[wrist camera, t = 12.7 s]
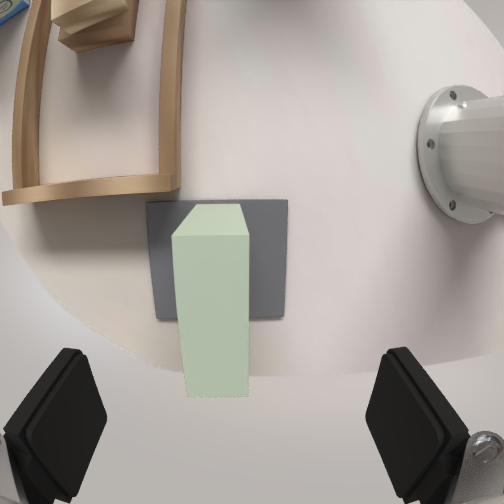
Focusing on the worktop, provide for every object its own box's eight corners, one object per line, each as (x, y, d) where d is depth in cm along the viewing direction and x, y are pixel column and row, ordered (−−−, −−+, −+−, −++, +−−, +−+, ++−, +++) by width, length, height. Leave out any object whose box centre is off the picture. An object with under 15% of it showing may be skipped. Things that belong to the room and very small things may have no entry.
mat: (286, 199, 22) (287, 200, 22) (283, 314, 25) (283, 316, 24) (147, 202, 22) (146, 202, 21) (157, 316, 24) (156, 318, 24)
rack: (194, -69, 15) (191, -96, 11) (180, 187, 21) (170, 191, 18) (61, -41, 14) (45, -59, 10) (31, 198, 20) (2, 206, 17)
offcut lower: (144, -25, 16) (134, -46, 13) (134, 41, 18) (121, 24, 15) (89, -13, 16) (74, -30, 13) (77, 53, 18) (58, 40, 15)
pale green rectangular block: (239, 203, 22) (249, 234, 12) (239, 309, 24) (248, 396, 14) (196, 204, 21) (171, 235, 12) (200, 309, 24) (187, 396, 14)
